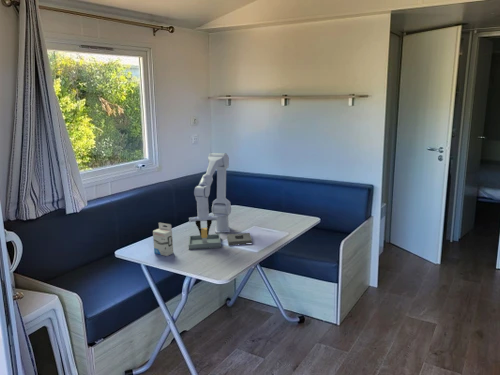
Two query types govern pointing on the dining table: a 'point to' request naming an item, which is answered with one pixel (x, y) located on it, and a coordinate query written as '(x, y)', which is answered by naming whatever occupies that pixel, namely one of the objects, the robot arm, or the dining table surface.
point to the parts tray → (196, 243)
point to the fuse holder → (239, 238)
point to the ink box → (163, 240)
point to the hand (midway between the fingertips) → (204, 234)
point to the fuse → (204, 235)
